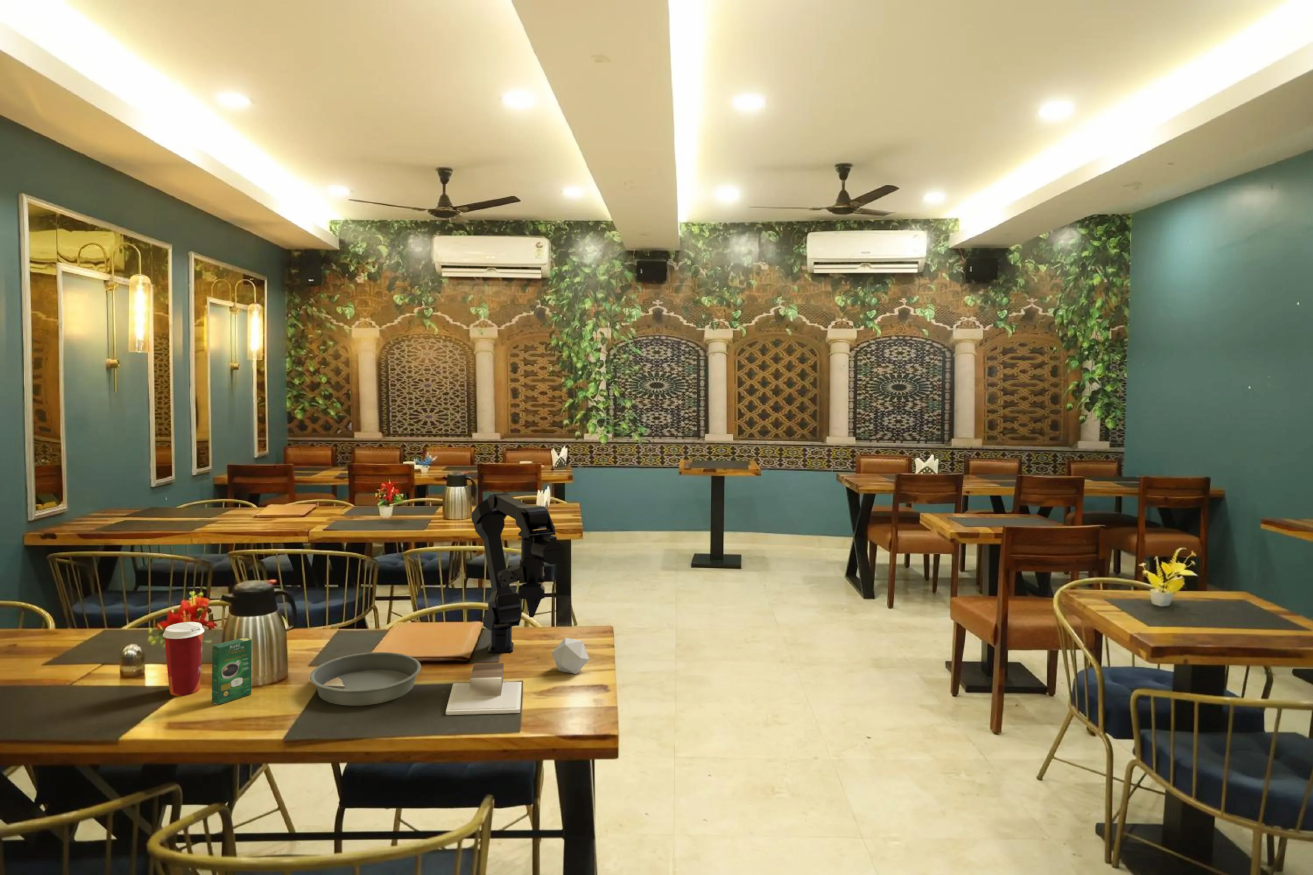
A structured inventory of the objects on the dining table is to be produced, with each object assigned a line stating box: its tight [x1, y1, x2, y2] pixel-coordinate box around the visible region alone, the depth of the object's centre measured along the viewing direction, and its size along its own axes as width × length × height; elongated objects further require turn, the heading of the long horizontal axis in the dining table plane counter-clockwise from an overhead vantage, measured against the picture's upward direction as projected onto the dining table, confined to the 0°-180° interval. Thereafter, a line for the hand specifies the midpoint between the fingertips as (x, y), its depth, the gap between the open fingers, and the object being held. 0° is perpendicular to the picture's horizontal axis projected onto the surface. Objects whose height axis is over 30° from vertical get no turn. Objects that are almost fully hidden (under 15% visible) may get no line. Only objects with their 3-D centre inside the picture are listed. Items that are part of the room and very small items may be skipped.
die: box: [551, 637, 590, 675], centre depth 211 cm, size 8×9×10 cm
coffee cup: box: [162, 621, 205, 697], centre depth 190 cm, size 8×8×15 cm
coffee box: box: [211, 636, 253, 705], centre depth 187 cm, size 8×3×13 cm, turn 147°
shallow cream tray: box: [445, 681, 523, 716], centre depth 191 cm, size 16×16×1 cm
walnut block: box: [469, 662, 505, 696], centre depth 196 cm, size 4×7×10 cm
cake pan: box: [309, 651, 422, 706], centre depth 196 cm, size 25×25×4 cm
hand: (531, 616), depth 211 cm, fingers closed
